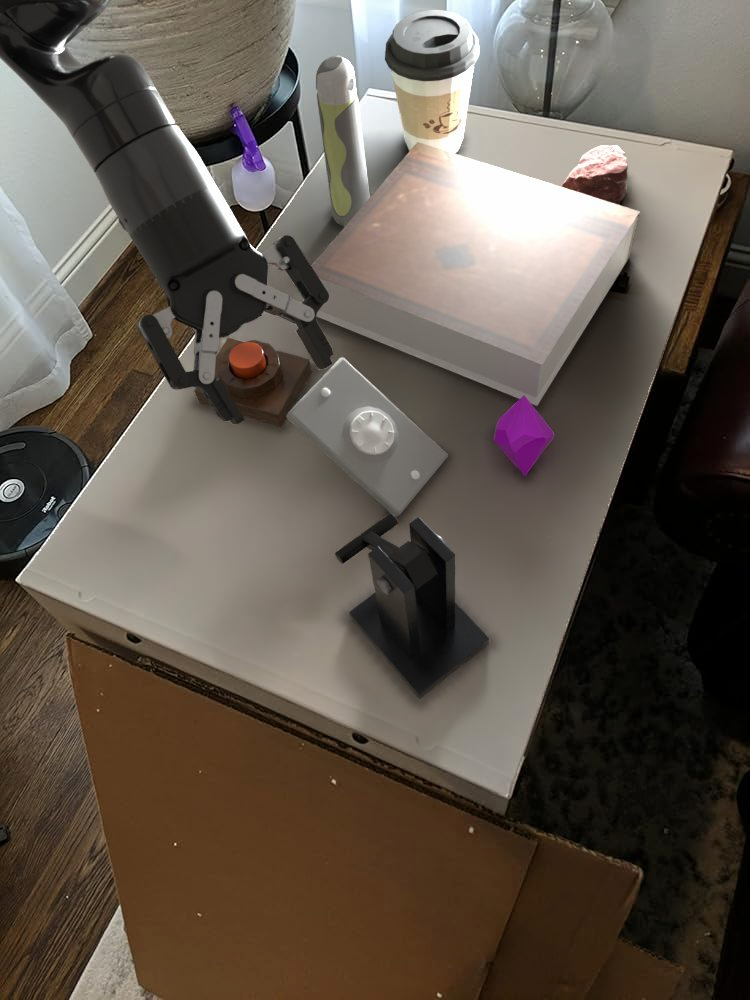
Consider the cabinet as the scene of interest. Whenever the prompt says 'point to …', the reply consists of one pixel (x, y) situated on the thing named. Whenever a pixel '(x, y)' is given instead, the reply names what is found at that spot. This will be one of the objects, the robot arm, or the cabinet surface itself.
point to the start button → (247, 360)
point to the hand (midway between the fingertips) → (283, 394)
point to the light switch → (367, 436)
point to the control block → (263, 383)
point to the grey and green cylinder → (342, 138)
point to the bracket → (418, 617)
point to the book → (475, 268)
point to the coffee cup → (432, 76)
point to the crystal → (522, 434)
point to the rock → (600, 174)
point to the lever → (392, 552)
